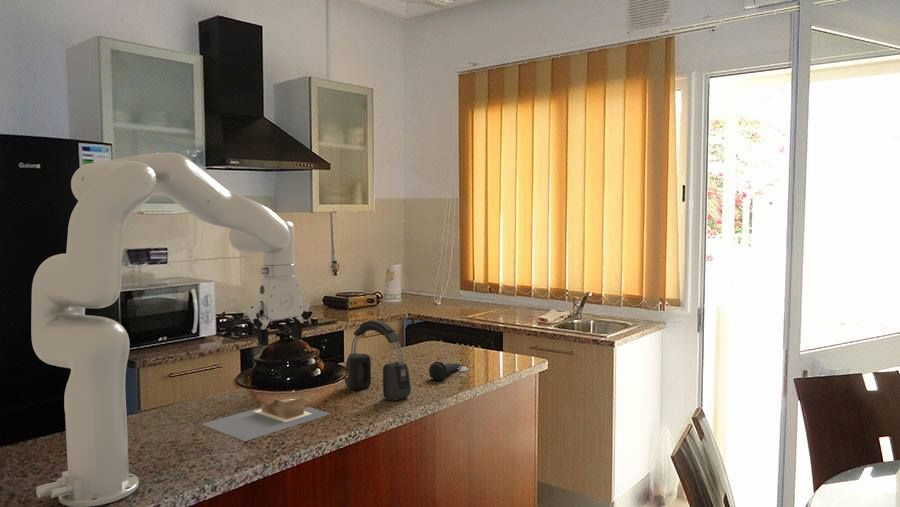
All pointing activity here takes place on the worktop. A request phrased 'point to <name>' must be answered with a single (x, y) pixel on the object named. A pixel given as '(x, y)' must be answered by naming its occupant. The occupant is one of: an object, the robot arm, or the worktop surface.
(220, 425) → the mat
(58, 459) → the worktop surface
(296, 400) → the block
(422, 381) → the worktop surface
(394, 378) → the headphones
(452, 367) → the microphone
